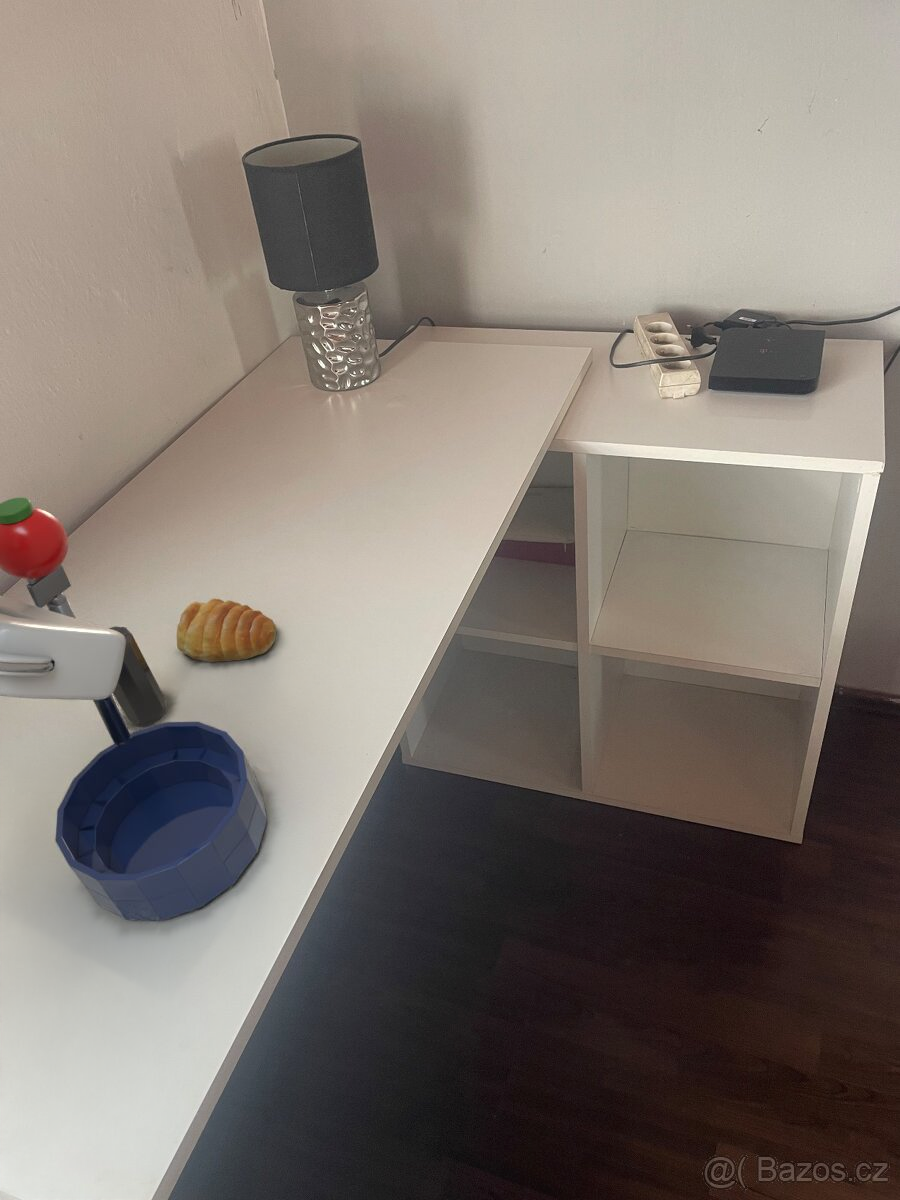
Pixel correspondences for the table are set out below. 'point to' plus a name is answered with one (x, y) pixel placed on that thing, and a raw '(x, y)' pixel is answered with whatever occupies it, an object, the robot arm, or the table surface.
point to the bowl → (162, 821)
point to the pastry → (224, 631)
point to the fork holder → (138, 686)
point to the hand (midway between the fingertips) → (69, 631)
